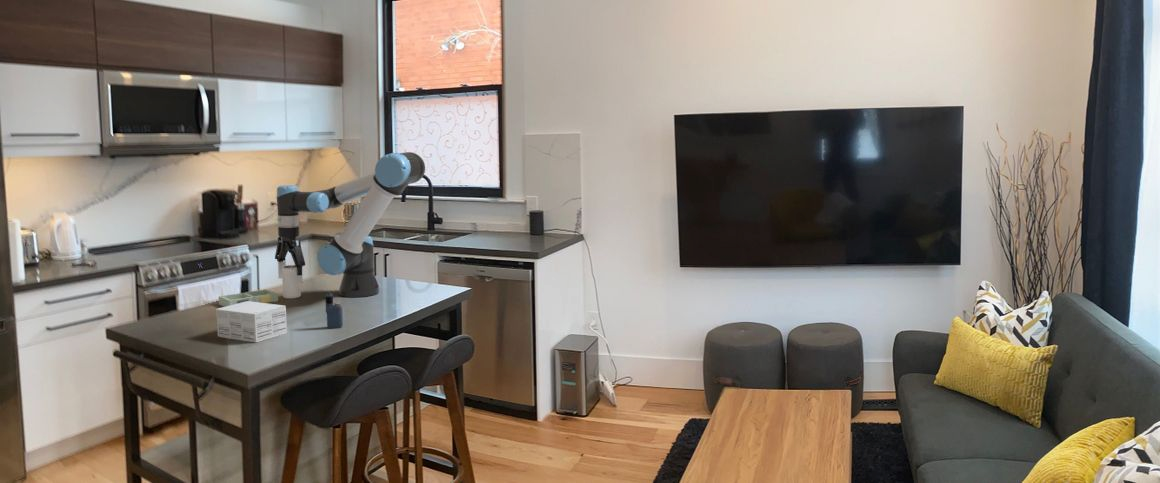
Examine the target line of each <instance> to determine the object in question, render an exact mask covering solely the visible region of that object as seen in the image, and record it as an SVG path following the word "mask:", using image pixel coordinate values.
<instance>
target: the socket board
mask: <svg viewBox="0 0 1160 483" xmlns="http://www.w3.org/2000/svg"><path fill="white" fill-rule="evenodd" d="M246 301H251V302H259V303H267V304H271V303H275V302H279V293H278V292H275V291H271V290H269V289H265V288H264V289H260V290H253V291H246V292H239V293H233V294H226V295H219V296H218V305H220V306H221V307H226V306H230V305H234V304H238V303H242V302H246Z"/></svg>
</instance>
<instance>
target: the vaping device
mask: <svg viewBox="0 0 1160 483" xmlns="http://www.w3.org/2000/svg"><path fill="white" fill-rule="evenodd" d="M324 298H325V313H326V328H327V329H342V328H343V324H344V323H343V307H342V305H341V302H334V295H333V293H331V291H327V294H325V297H324Z"/></svg>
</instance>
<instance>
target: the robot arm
mask: <svg viewBox="0 0 1160 483" xmlns="http://www.w3.org/2000/svg"><path fill="white" fill-rule="evenodd" d="M425 172H426V164H425V160H424V159H423V158H422V157H421V156H420V155H419V154H417V153H415V152H412V151H411V152H410V151H406V152H392V153H388V154H385V155H383V156H382V157H381V158H379V159H378V161H377V162H376V163H375V168H374V171H373V172H370V173H367V174H365V175H362V176H359V177H357V178H354V179H351V180H349V181H346V182H344V183H341V184H338V185H336V186H333V187H330V188H327V189H322V190H316V191H314V190H313V191H299V188H298V186H297V185H292V184H290V185H289V184H287V185H286V184H284V185H280V186H278V187H276V206H277V207H276V208H277V219H276V221H277V225H278V226H279V227H278V228H277V231H278V232H277V234H278V237H277V244H276V250H275V253H274V259H275V260H276V261H277V265H278V266H277V270H278V272H277V273H278V279H280V280H282V270H283V267H284V266H287V259H286V257H287V255H288V253H290V256H291V258H292V260H293V263H294V265H295V266H294V271H295V284H303V283H304V282H303V279H304V278H303V267H304V266H306V262H305V257H304V253H303V250H302V246H301V245H302V243H301V240H297V237H299V236H300V227H299V225H300V215H299V212H305V213H306V212H307V213H314V214H317V213H325V211H326V210H329V209H336V208H337V209H338V208H339V207H342V206H343V205H345V204H347V203H348V204H349V203H350V202H354V201H355V200H358V199H361V198H363V200H362V201H361V202H360V204H359V205H358V207H357V208H356V210H355V212H353V215H352V216H351V217H350V219H349V221H348V222H347V223H346V225H345V226H344V228H343V229H342V231H340V232H336V233H335V234H334V235H333V237H332V238H331V240H330V241H329V243H328V244H324V245H323V246H322V247H320V249H319V250H318V252H317V256H316V257H317V261H318V262H317V263H318V266H319V268H320V269H321V271H322V272H324V273H325V274H327V275H329V276H337V275H339V276H340V275H342V274H343V275H342V279H341V282H340V285H339V289H338V290H339V296H342V297H348V298H362V297H363V298H364V297H365V298H366V297H370V296H375V295H378V294H379V293H380V287H379V286H380V285H379V283H378V281H377V277H376V275H375V269H374V268H375V267H374V266H375V265H374V264H375V263H374V242H373V240H374V239H373V238H372V237H371V236H370V235H369V234H370V233H371V231H372V230H373V229H374V227H375V226H376V224H377V223H378V221H379V220H380V219H381V217H382V215H383V214H384V212H385V211H386V209H387V208H388V206H389V205H390V204H391V202H392V200H393V199H394V198H395V197H400V196H401V195H402V194H403V192H404V190H405V189H406V188H407V187H408V185H410V184H414V183H417V182H419V181H420V180H421V179H422V178H423V177H424V175H425Z"/></svg>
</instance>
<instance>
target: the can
mask: <svg viewBox="0 0 1160 483" xmlns="http://www.w3.org/2000/svg"><path fill="white" fill-rule="evenodd" d="M294 266H295V264H289V265H286V266H284V267H283V270H282V278H281V280H282V295H283V296H282V297H283V298H284V299H288V300H291V299H298V298H301V296H302V290H301V288H302V287H301V284H302V283H301V284H295V271H294Z"/></svg>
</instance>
